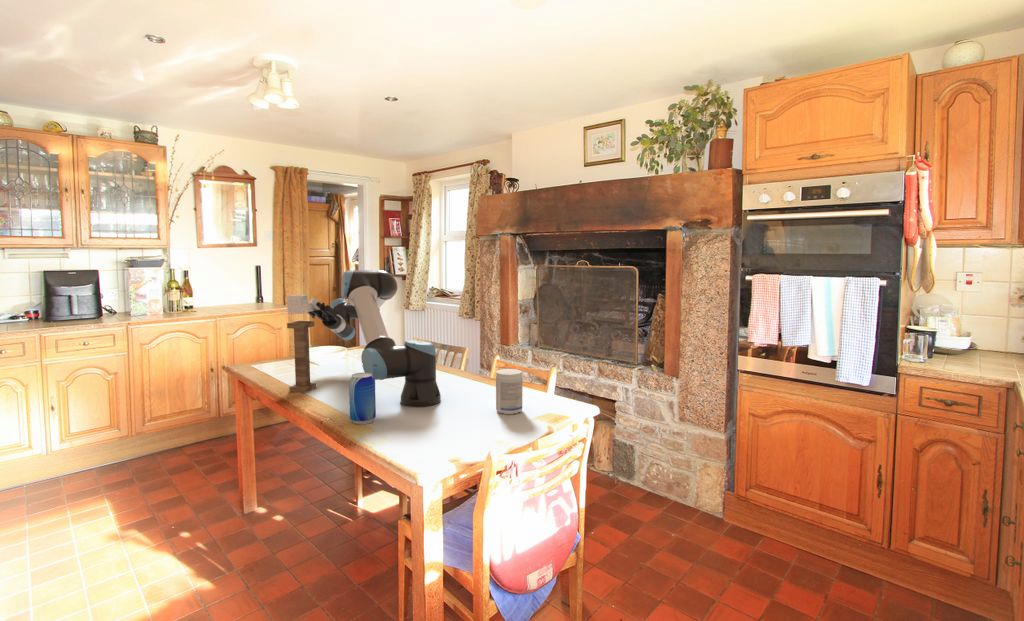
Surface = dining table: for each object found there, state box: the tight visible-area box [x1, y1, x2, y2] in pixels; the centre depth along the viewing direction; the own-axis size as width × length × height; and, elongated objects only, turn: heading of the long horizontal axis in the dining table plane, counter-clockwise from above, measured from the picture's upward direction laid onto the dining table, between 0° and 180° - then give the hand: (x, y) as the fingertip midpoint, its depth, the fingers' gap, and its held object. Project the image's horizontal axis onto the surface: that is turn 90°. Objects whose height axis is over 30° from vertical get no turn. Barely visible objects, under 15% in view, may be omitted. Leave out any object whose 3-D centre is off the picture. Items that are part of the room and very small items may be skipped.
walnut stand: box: [286, 320, 317, 394], centre depth 209 cm, size 8×7×28 cm
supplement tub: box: [495, 368, 523, 415], centre depth 185 cm, size 10×10×15 cm
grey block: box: [286, 294, 321, 315], centre depth 210 cm, size 16×6×7 cm, turn 169°
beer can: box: [348, 372, 377, 425], centre depth 172 cm, size 8×8×16 cm
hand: (307, 300), depth 211 cm, fingers closed on grey block, 3 cm apart
